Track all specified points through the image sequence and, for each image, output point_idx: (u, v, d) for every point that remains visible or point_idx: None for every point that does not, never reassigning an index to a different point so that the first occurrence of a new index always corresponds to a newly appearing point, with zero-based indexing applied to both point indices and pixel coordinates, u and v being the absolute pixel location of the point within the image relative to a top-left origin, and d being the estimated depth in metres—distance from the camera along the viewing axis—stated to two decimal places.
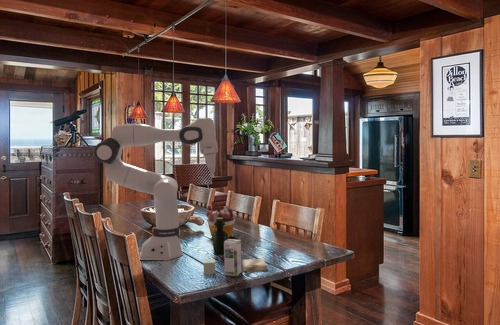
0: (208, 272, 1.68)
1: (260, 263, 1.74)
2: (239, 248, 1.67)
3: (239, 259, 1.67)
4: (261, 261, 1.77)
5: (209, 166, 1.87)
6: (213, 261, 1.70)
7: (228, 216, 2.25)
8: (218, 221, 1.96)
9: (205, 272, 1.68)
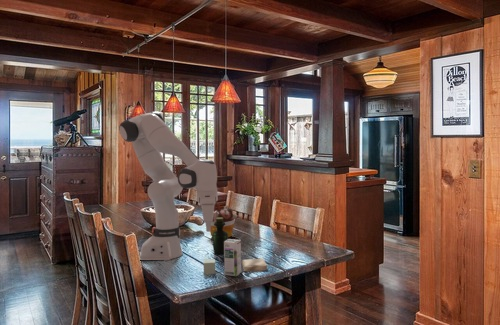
0: (208, 272, 1.68)
1: (260, 263, 1.74)
2: (239, 248, 1.67)
3: (239, 259, 1.67)
4: (261, 261, 1.77)
5: (205, 219, 1.59)
6: (213, 261, 1.70)
7: (228, 216, 2.25)
8: (218, 221, 1.96)
9: (205, 272, 1.68)
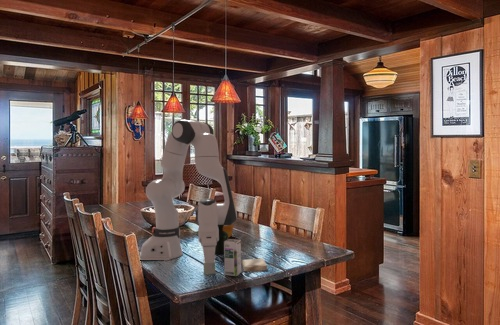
0: (208, 272, 1.68)
1: (260, 263, 1.74)
2: (239, 248, 1.67)
3: (239, 259, 1.67)
4: (261, 261, 1.77)
5: (207, 261, 1.60)
6: None
7: None
8: None
9: (205, 272, 1.68)
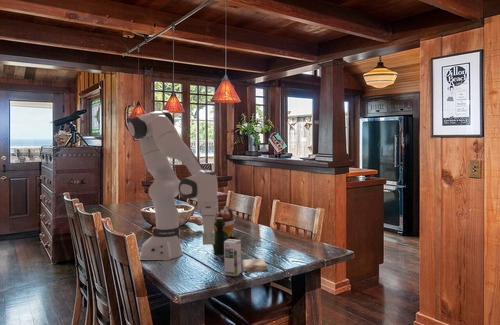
0: (207, 242, 1.68)
1: (260, 263, 1.74)
2: (239, 248, 1.67)
3: (239, 259, 1.67)
4: (261, 261, 1.77)
5: (206, 230, 1.60)
6: None
7: (228, 216, 2.25)
8: (218, 221, 1.96)
9: (204, 242, 1.68)
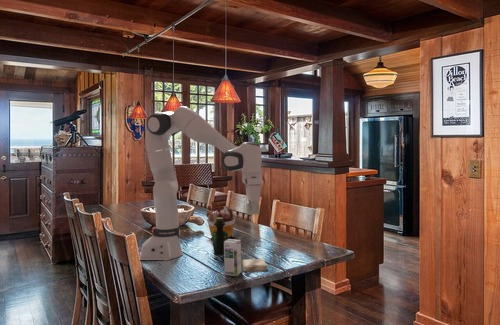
0: (252, 212, 1.72)
1: (260, 263, 1.74)
2: (239, 248, 1.67)
3: (239, 259, 1.67)
4: (261, 261, 1.77)
5: (253, 199, 1.64)
6: None
7: (228, 216, 2.25)
8: (218, 221, 1.96)
9: (249, 212, 1.72)
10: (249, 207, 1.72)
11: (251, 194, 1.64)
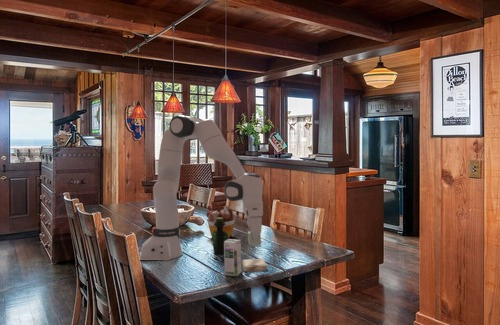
0: (253, 243, 1.73)
1: (260, 263, 1.74)
2: (239, 248, 1.67)
3: (239, 259, 1.67)
4: (261, 261, 1.77)
5: (254, 231, 1.65)
6: None
7: (228, 216, 2.25)
8: (218, 221, 1.96)
9: (251, 243, 1.73)
10: (250, 238, 1.73)
11: (252, 226, 1.65)
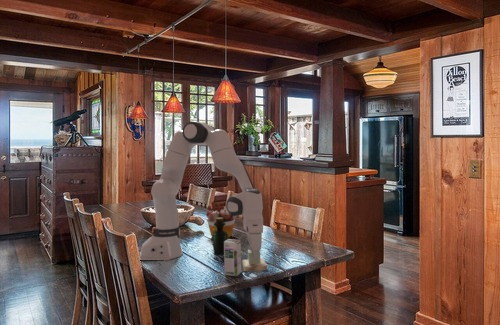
0: (253, 262, 1.74)
1: (260, 263, 1.74)
2: (239, 248, 1.67)
3: (239, 259, 1.67)
4: (261, 261, 1.77)
5: (254, 248, 1.66)
6: (258, 251, 1.75)
7: (228, 216, 2.25)
8: (218, 221, 1.96)
9: (250, 262, 1.74)
10: (250, 257, 1.73)
11: (252, 243, 1.66)
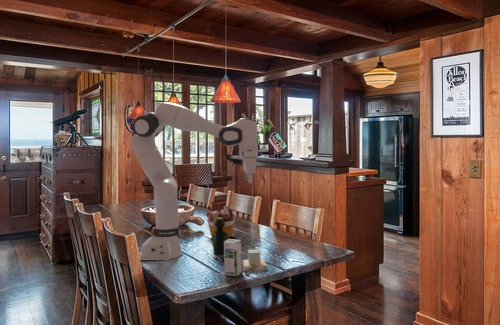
0: (253, 262, 1.74)
1: (260, 263, 1.74)
2: (239, 248, 1.67)
3: (239, 259, 1.67)
4: (261, 261, 1.77)
5: (249, 170, 1.75)
6: (258, 251, 1.75)
7: (228, 216, 2.25)
8: (218, 221, 1.96)
9: (250, 262, 1.74)
10: (250, 257, 1.73)
11: (247, 166, 1.75)
